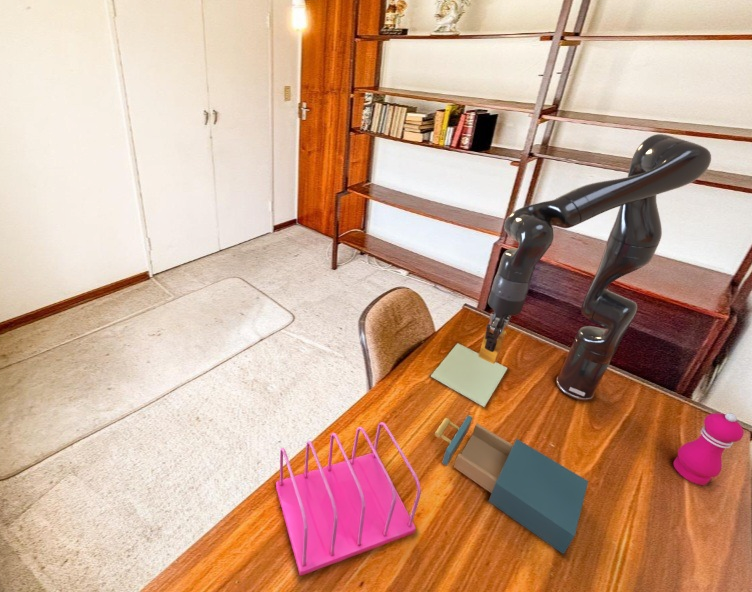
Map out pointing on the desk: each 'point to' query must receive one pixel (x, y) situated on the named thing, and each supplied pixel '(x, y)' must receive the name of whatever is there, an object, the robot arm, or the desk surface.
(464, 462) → the drawer
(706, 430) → the pepper mill
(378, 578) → the desk surface
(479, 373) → the mat
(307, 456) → the file sorter
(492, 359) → the block
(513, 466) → the cabinet
